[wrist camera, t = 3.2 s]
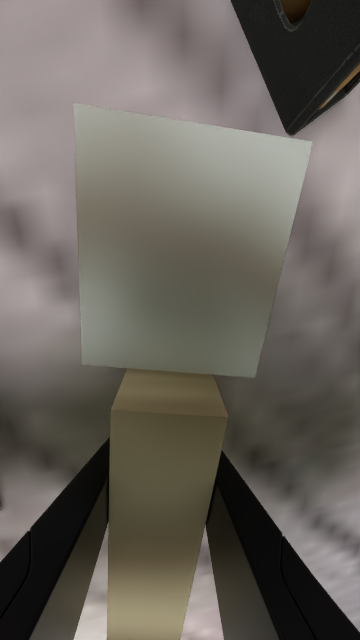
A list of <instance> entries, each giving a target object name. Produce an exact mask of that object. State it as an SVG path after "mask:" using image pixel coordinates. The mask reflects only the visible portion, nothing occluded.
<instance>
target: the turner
mask: <svg viewBox="0 0 360 640" xmlns="http://www.w3.org/2000/svg"><path fill="white" fill-rule="evenodd" d="M73 104H74V136H75V167H76V199H77V231H78V262H79V294H80V325H81V357H82V365H91V366H104V367H117V368H127V369H126V372H125V374H124V377H123V379H122V382H121V385H120V387H119V390H118V392H117V395H116V397H115V400H114V402H113V405H112V407H111V410H110V470H109V538H108V607H107V640H180V638H181V633H182V629H183V624H184V620H185V615H186V610H187V606H188V601H189V597H190V592H191V587H192V583H193V578H194V574H195V569H196V564H197V560H198V555H199V551H200V546H201V542H202V537H203V532H204V528H205V523H206V519H207V514H208V509H209V505H210V500H211V496H212V491H213V487H214V482H215V477H216V473H217V468H218V464H219V459H220V454H221V450H222V445H223V441H224V436H225V431H226V427H227V422H228V418H229V417H228V414H227V411H226V409H225V406H224V403H223V400H222V397H221V395H220V392H219V389H218V386H217V383H216V380H215V378H214V375H223V376H236V377H249V378H255V375H256V371H257V367H258V363H259V359H260V355H261V351H262V347H263V343H264V339H265V335H266V331H267V327H268V323H269V319H270V315H271V310H272V306H273V302H274V298H275V294H276V290H277V286H278V282H279V278H280V274H281V270H282V266H283V262H284V258H285V254H286V250H287V246H288V242H289V237H290V233H291V229H292V225H293V221H294V217H295V213H296V209H297V205H298V201H299V197H300V193H301V189H302V185H303V181H304V177H305V173H306V169H307V164H308V160H309V156H310V152H311V148H312V144H313V142H312V141H306V140H300V139H294V138H288V137H281V136H275V135H269V134H263V133H257V132H251V131H244V130H238V129H232V128H226V127H220V126H214V125H207V124H201V123H195V122H189V121H183V120H177V119H171V118H164V117H158V116H152V115H146V114H140V113H134V112H127V111H121V110H115V109H109V108H103V107H97V106H90V105H84V104H78V103H73Z"/></svg>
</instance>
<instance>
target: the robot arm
mask: <svg viewBox="0 0 360 640" xmlns="http://www.w3.org/2000/svg"><path fill="white" fill-rule="evenodd" d="M109 470H110V437H109V438H108V439H107V441H106V442H105V443H104V444H103V445H102V446H101V447H100V449H99V450H98V451H97V452H96V453H95V454H94V456H93V457H92V458H91V459H90V460H89V461H88V462H87V464H86V465H85V466H84V467H83V468H82V469H81V471H80V472H79V473H78V474H77V475H76V476H75V477H74V479H73V480H72V481H71V482H70V483H69V484H68V485H67V487H66V488H65V489H64V490H63V491H62V492H61V494H60V495H59V496H58V497H57V498H56V499H55V500H54V502H53V503H52V504H51V505H50V506H49V507H48V509H47V510H46V511H45V512H44V513H43V514H42V515H41V517H40V518H39V519H38V520H37V521H36V522H35V523H34V525H33V526H32V527H31V528H30V531H27V532H26V534H25V535H24V536H23V537H22V538H21V539H20V541H19V542H18V543H17V544H16V545H15V546H14V548H13V549H12V550H11V551H10V552H9V553H8V554H7V555H6V556H5V558H4V559H3V560H2V561H1V562H0V640H73V639H74V636H75V633H76V629H77V626H78V622H79V619H80V616H81V612H82V609H83V606H84V602H85V599H86V595H87V592H88V589H89V585H90V582H91V579H92V575H93V572H94V568H95V565H96V562H97V558H98V555H99V551H100V548H101V545H102V541H103V538H104V535H105V531H106V528H107V524H108V521H109ZM205 524H206V531H207V537H208V543H209V549H210V555H211V561H212V568H213V574H214V580H215V586H216V592H217V599H218V605H219V611H220V617H221V623H222V629H223V636H224V640H360V632H359V631H358V630H357V628H356V627H355V626H354V625H353V624H352V622H351V621H350V620H349V619H348V618H347V616H346V615H345V614H344V613H343V612H342V610H341V609H340V608H339V607H338V605H337V604H336V603H335V602H334V601H333V599H332V598H331V597H330V596H329V594H328V593H327V592H326V591H325V589H324V588H323V587H322V586H321V584H320V583H319V582H318V581H317V579H316V578H315V577H314V576H313V574H312V573H311V572H310V570H309V569H308V568H307V566H306V565H305V564H304V562H303V561H302V560H301V558H300V557H299V556H298V554H297V553H296V552H295V550H294V549H293V548H292V546H291V545H290V543H289V542H288V541H287V539H286V538H285V537H284V536H282V533H281V531H280V530H279V528H278V527H277V526H276V524H275V523H274V521H273V520H272V519H271V517H270V516H269V515H268V513H267V512H266V510H265V509H264V508H263V506H262V505H261V503H260V502H259V501H258V499H257V498H256V497H255V495H254V494H253V492H252V491H251V490H250V488H249V487H248V485H247V484H246V483H245V481H244V480H243V479H242V477H241V476H240V474H239V473H238V472H237V470H236V469H235V467H234V466H233V465H232V463H231V462H230V461H229V459H228V458H227V456H226V455H225V454H224V452H223V451H222V450H221V454H220V459H219V464H218V468H217V473H216V477H215V482H214V487H213V491H212V496H211V500H210V505H209V509H208V514H207V519H206V523H205Z"/></svg>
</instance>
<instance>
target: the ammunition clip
mask: <svg viewBox="0 0 360 640" xmlns="http://www.w3.org/2000/svg"><path fill="white" fill-rule="evenodd" d="M231 3H232V5H233V7H234V10H235V12H236V14H237V17H238V19H239V22H240V24H241V26H242V29H243V31H244V34H245V36H246V38H247V41H248V43H249V45H250V48H251V50H252V53H253V55H254V57H255V60H256V62H257V65H258V67H259V69H260V72H261V74H262V76H263V79H264V81H265V84H266V86H267V88H268V91H269V93H270V96H271V98H272V100H273V103H274V105H275V107H276V110H277V112H278V115H279V117H280V119H281V122H282V124H283V127H284V129H285V131H286V132H288V133H291V134H295V133H297V132H298V131H299V130H301V129H302V128H303V127H305V126H306V125H307V124H309V123H310V122H311V121H313V120H314V119H315V118H317V117H318V116H319V115H321V114H322V113H323V112H325V111H326V110H327V109H329V108H330V107H331V106H333V105H334V104H335V103H337V102H338V101H340V100H341V99H342V98H344V97H345V96H346V95H348V94H349V93H350V92H351V91H352V90H353V89H354V88H355V86H356V85H357V84H358V83H359V82H360V0H231Z"/></svg>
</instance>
